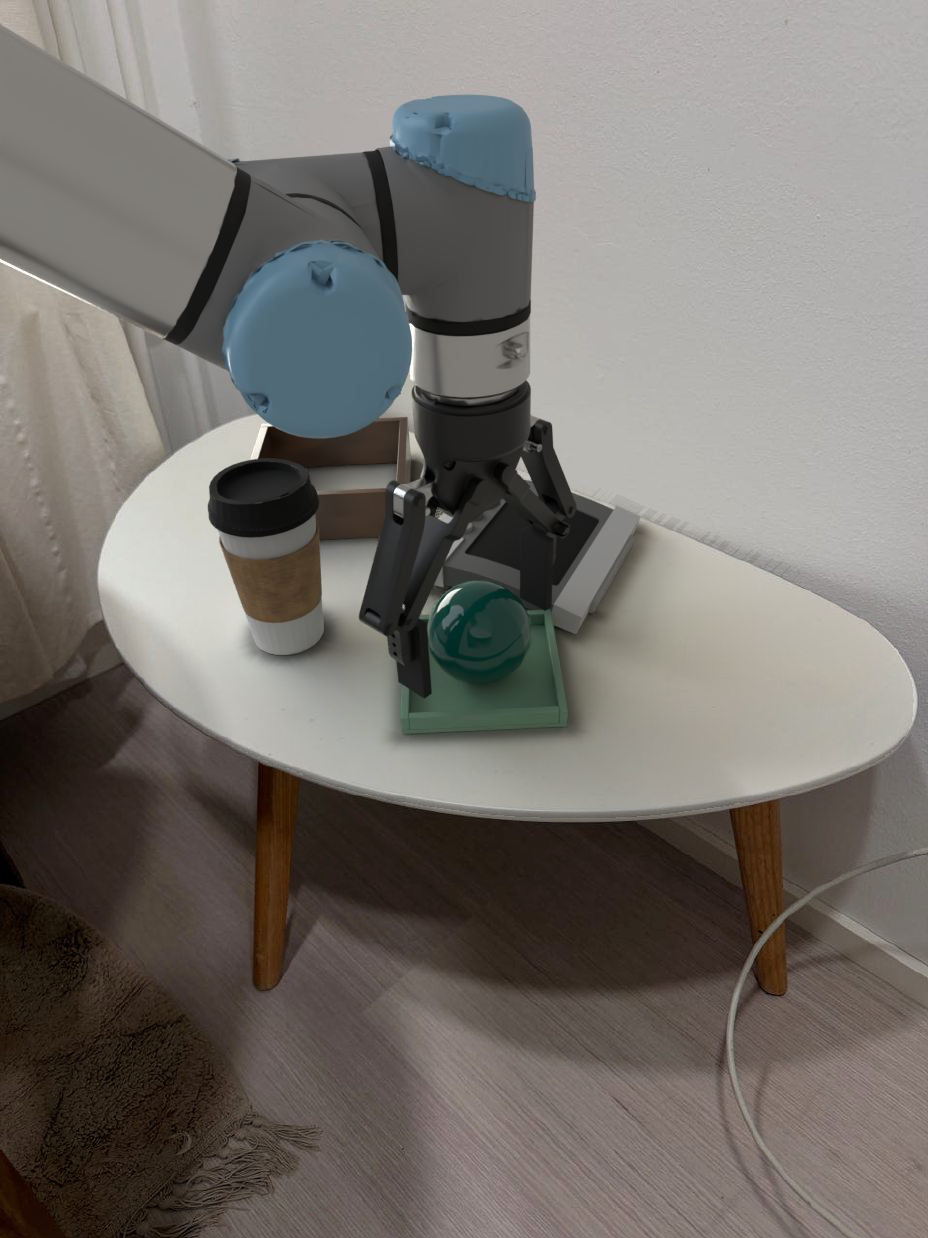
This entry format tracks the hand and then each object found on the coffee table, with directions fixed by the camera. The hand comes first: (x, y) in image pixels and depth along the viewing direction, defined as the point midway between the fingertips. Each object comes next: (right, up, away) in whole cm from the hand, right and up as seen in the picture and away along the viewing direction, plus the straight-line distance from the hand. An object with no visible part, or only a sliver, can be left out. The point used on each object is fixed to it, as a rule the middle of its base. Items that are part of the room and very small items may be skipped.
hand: (478, 643), depth 71 cm
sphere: (0, -3, +2) cm, 3 cm away
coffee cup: (-16, 0, +7) cm, 17 cm away
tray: (0, -3, +2) cm, 3 cm away
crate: (-15, +14, +24) cm, 32 cm away
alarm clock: (+5, +7, +14) cm, 17 cm away
